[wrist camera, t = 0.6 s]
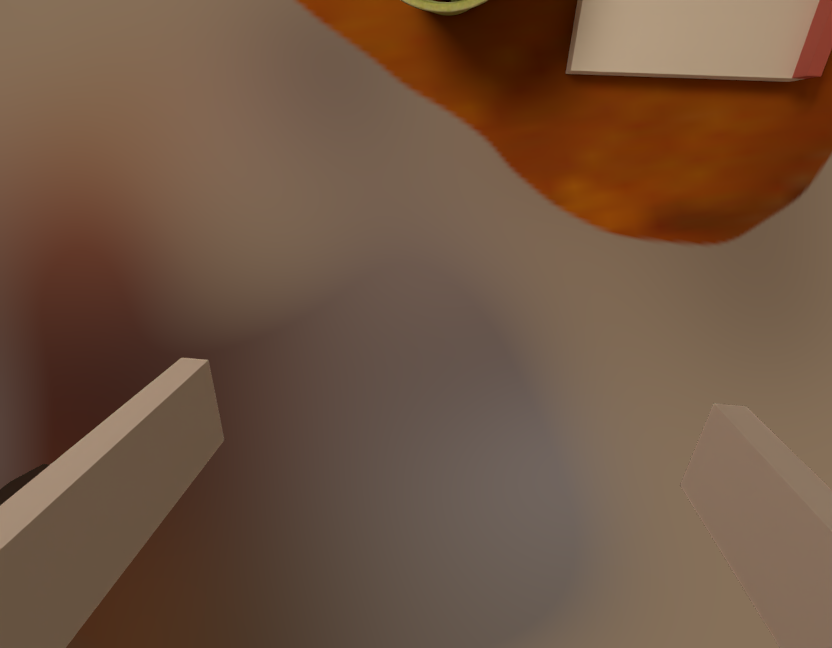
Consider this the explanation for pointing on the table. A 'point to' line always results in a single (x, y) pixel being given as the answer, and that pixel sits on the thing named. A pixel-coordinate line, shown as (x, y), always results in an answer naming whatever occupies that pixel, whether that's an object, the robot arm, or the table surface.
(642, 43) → the shelf board
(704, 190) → the table surface
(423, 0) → the plant pot
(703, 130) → the table surface
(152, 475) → the robot arm
